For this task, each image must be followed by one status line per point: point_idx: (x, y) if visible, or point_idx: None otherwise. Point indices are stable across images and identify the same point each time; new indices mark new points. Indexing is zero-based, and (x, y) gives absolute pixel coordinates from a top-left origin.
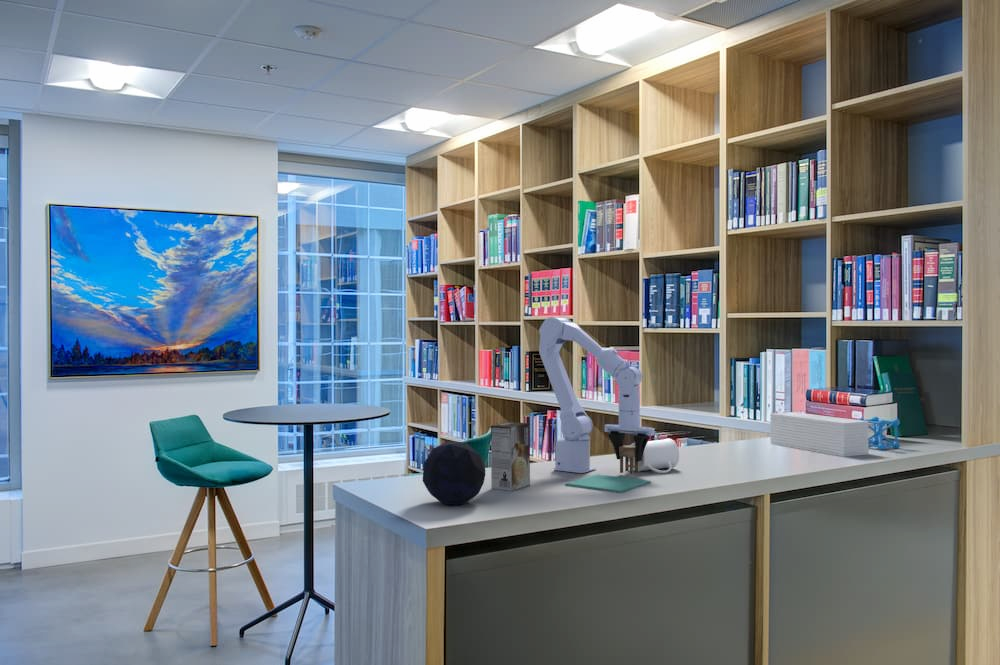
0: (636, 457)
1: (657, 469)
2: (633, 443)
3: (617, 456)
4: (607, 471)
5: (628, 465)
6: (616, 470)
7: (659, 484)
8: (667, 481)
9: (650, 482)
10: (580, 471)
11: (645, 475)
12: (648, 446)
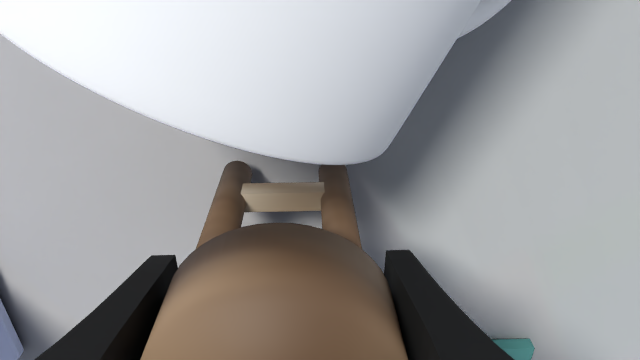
0: None
1: (487, 11)
2: (71, 75)
3: None
4: (64, 180)
5: (253, 207)
6: (79, 95)
7: (588, 343)
8: (622, 253)
9: (529, 340)
10: (3, 358)
11: (409, 153)
12: (428, 13)
